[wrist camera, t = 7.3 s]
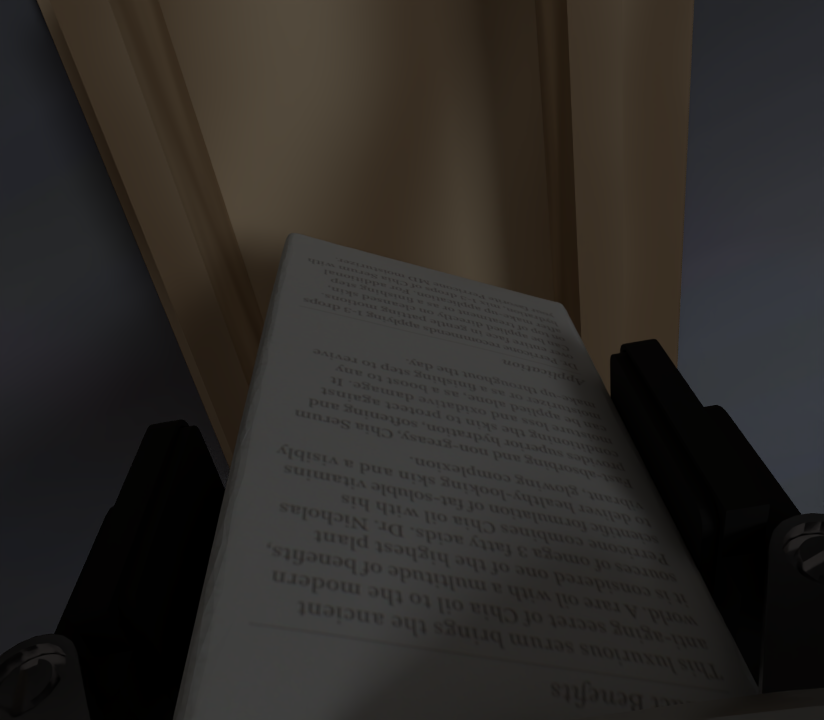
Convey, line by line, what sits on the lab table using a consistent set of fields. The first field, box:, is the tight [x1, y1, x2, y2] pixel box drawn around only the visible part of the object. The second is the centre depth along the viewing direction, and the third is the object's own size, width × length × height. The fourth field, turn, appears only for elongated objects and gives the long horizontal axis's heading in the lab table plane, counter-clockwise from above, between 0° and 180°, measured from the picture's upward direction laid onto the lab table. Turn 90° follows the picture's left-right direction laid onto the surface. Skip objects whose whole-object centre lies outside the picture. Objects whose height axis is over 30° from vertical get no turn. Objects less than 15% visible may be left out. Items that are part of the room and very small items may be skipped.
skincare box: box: [173, 233, 758, 720], centre depth 10 cm, size 6×4×12 cm
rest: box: [37, 0, 694, 468], centre depth 17 cm, size 14×18×4 cm
